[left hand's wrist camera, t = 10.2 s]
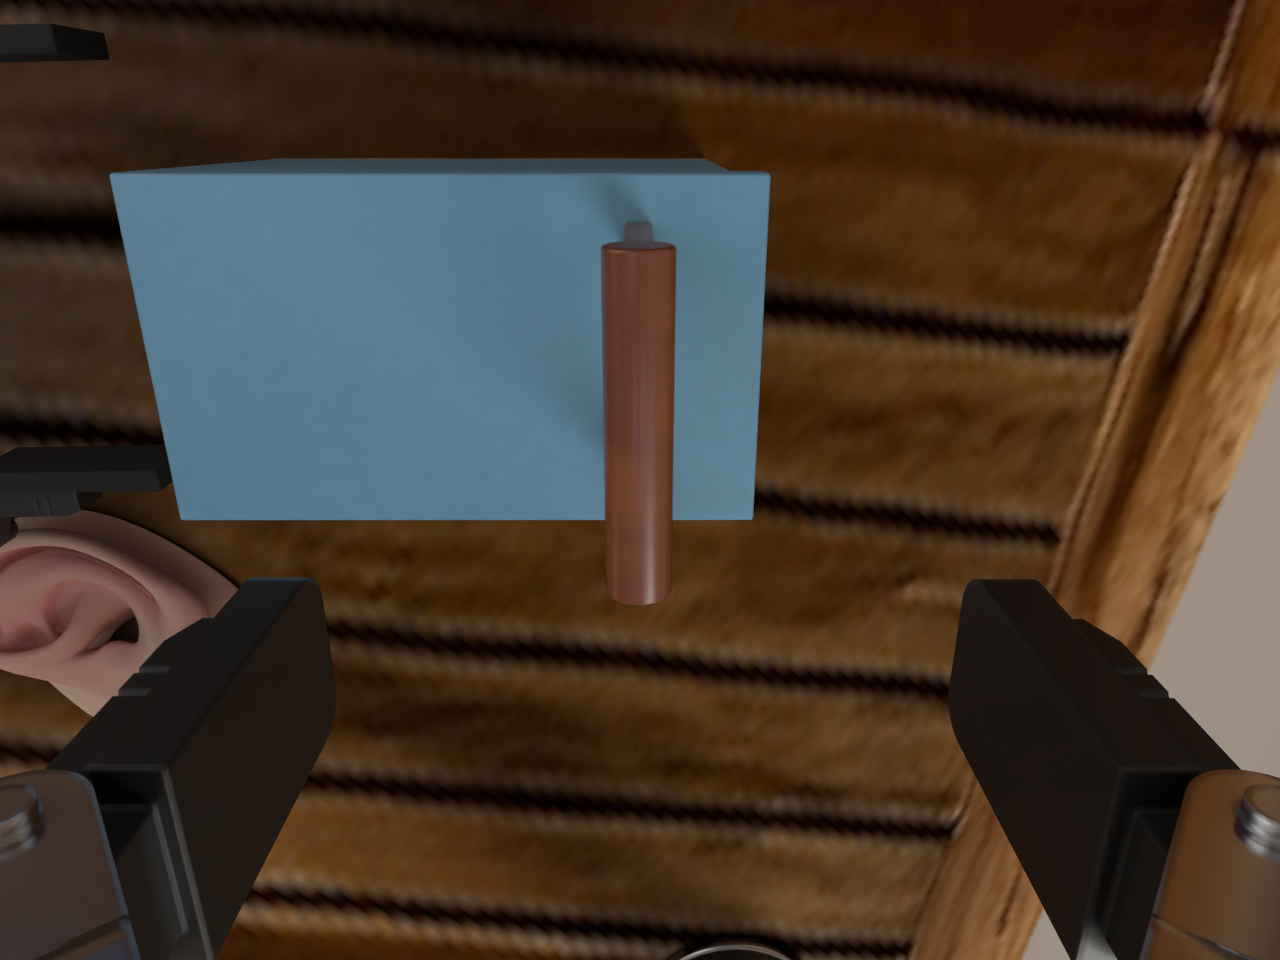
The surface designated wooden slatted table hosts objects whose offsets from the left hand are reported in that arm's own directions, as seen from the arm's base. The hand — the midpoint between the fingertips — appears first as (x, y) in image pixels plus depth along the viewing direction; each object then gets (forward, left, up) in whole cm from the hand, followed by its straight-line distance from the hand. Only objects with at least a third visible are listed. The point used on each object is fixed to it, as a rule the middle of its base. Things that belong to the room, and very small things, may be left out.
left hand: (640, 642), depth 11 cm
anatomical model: (-20, +20, -26) cm, 39 cm away
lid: (-1, +5, -16) cm, 17 cm away
